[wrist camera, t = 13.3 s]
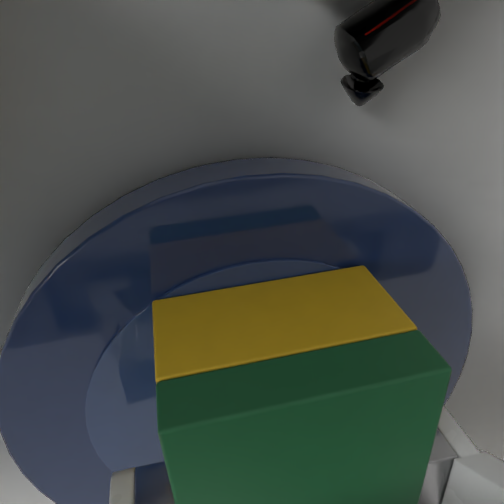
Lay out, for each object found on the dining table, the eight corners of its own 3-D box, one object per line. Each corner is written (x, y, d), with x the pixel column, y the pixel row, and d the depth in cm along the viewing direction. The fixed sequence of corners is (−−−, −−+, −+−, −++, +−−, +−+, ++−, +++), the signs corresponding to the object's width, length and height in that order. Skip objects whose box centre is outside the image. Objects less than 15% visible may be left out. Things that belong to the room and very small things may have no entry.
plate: (-87, 198, 9) (-119, 226, 8) (489, 126, 11) (529, 139, 10) (79, 541, 15) (75, 582, 14) (417, 454, 17) (436, 484, 16)
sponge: (151, 299, 10) (157, 433, 7) (364, 263, 10) (454, 367, 7) (193, 506, 14) (208, 647, 11) (344, 468, 14) (397, 589, 11)
